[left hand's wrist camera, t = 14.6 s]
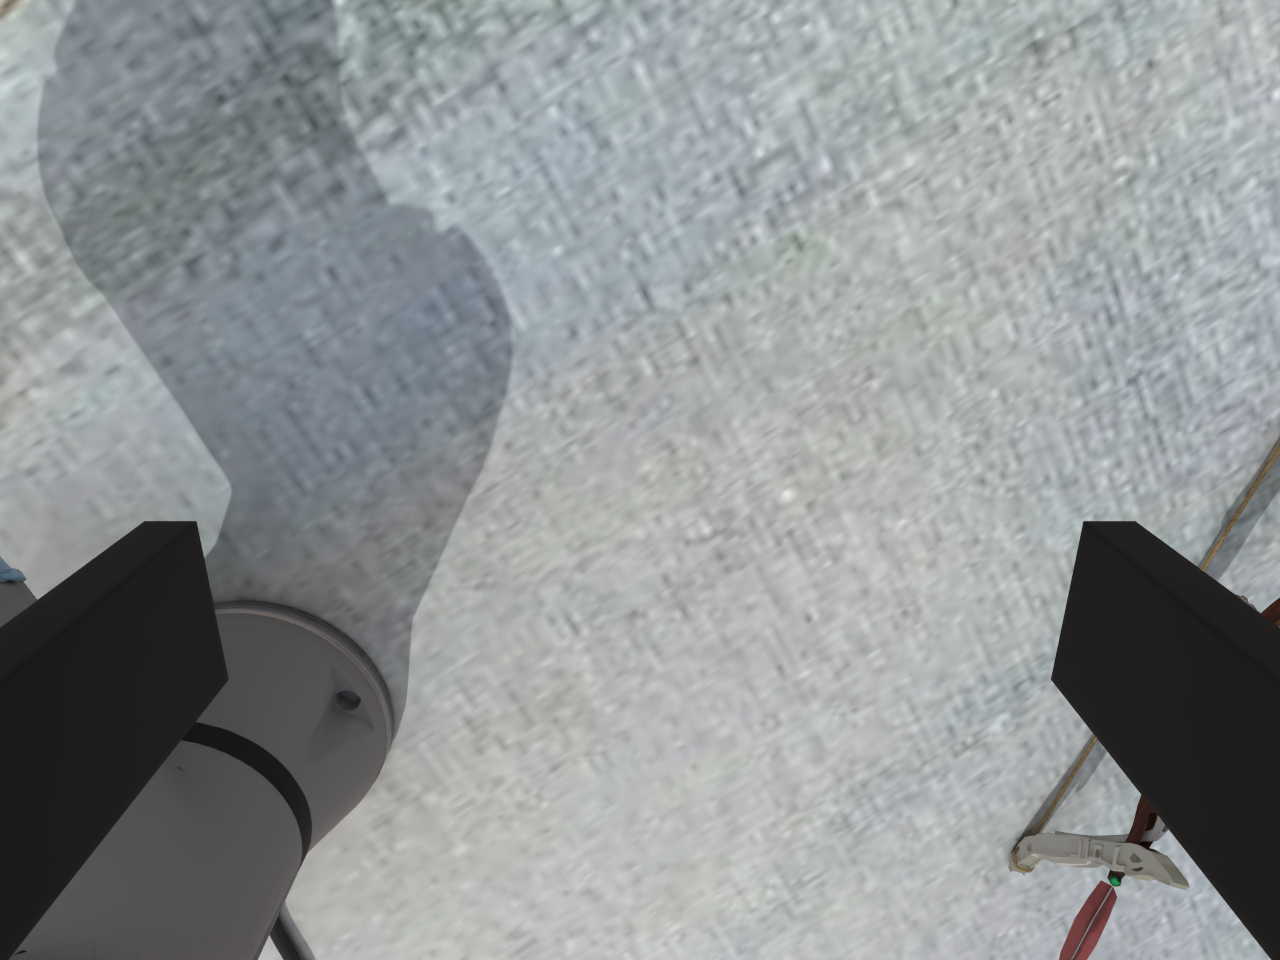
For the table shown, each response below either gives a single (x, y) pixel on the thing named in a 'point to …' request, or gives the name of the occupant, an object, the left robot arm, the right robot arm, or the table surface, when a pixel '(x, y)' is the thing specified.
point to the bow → (1114, 850)
